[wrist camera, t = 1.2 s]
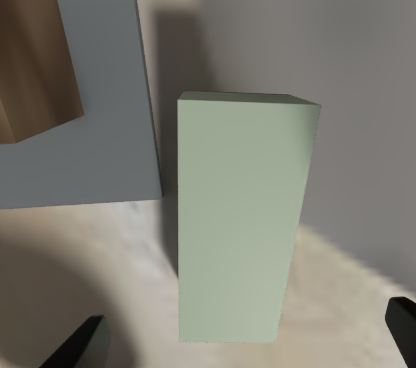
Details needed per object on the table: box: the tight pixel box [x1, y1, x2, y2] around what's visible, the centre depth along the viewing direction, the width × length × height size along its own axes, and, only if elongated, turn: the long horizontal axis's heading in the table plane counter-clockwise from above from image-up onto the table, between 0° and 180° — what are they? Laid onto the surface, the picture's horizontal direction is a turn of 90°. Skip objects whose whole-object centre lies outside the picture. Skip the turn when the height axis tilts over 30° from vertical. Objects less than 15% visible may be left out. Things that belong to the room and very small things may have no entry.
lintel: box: [178, 91, 321, 343], centre depth 14 cm, size 5×12×4 cm, turn 178°
